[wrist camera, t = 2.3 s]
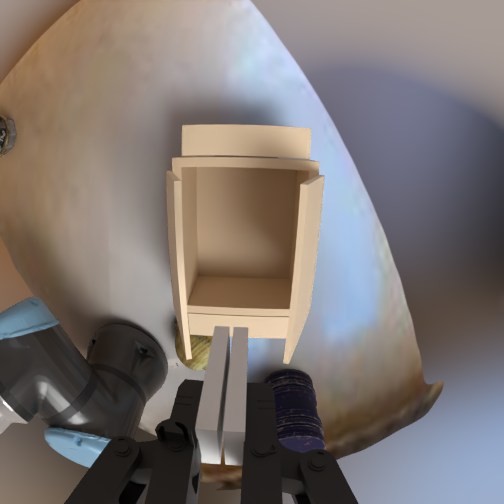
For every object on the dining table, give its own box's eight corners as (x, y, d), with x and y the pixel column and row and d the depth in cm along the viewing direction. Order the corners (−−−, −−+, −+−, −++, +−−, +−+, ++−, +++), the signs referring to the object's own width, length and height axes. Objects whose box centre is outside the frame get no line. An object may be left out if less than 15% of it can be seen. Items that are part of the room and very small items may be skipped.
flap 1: (181, 181, 19) (174, 181, 19) (192, 358, 25) (186, 359, 25) (170, 170, 28) (166, 170, 28) (177, 304, 34) (173, 305, 33)
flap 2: (283, 362, 25) (288, 364, 25) (300, 184, 19) (307, 184, 19) (305, 309, 34) (309, 310, 33) (319, 174, 28) (324, 175, 28)
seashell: (193, 307, 49) (159, 338, 46) (194, 299, 43) (155, 335, 40) (233, 347, 48) (200, 379, 45) (240, 346, 42) (202, 384, 39)
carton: (194, 300, 44) (182, 334, 36) (190, 130, 36) (172, 125, 27) (292, 303, 44) (300, 338, 36) (305, 133, 36) (321, 129, 27)
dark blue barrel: (249, 385, 50) (248, 451, 36) (293, 360, 48) (303, 428, 34) (281, 409, 53) (286, 470, 39) (322, 387, 51) (337, 449, 37)
